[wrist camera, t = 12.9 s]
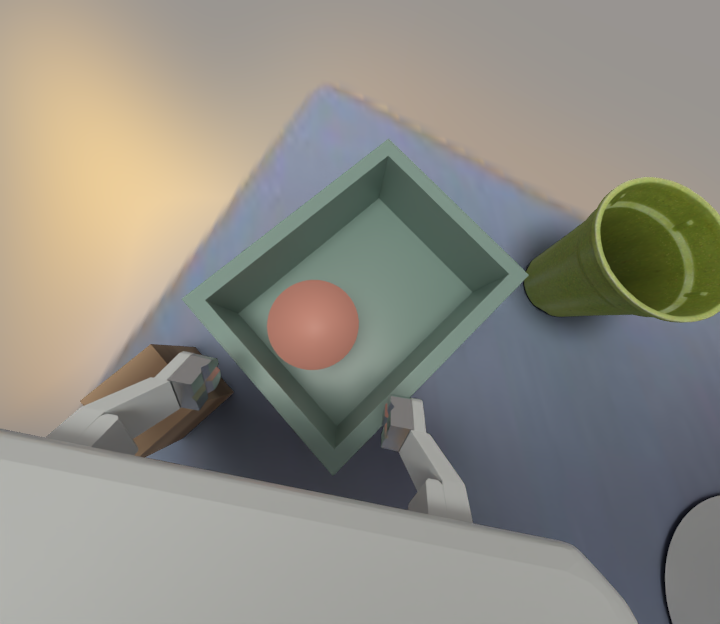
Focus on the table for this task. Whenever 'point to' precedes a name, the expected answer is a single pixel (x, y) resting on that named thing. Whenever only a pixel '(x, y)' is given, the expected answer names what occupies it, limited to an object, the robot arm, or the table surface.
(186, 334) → the table surface
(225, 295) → the tote
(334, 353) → the pink egg shape
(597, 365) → the table surface
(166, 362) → the cube
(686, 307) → the plant pot
